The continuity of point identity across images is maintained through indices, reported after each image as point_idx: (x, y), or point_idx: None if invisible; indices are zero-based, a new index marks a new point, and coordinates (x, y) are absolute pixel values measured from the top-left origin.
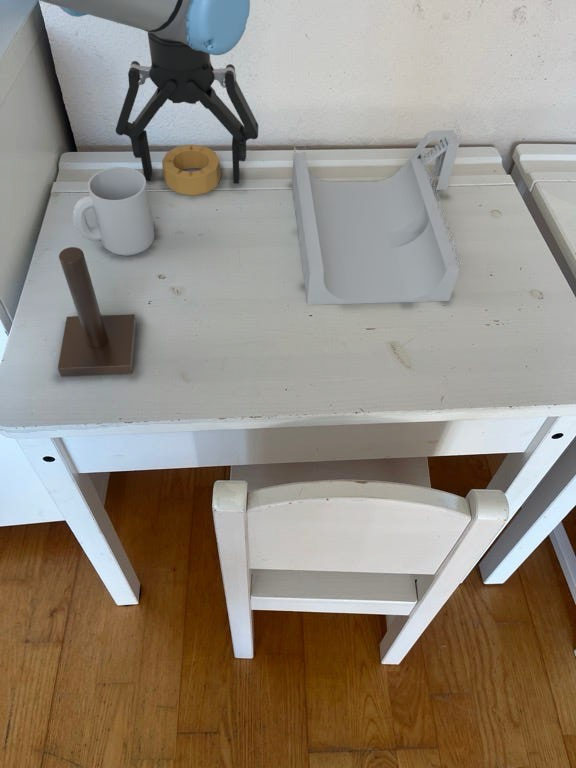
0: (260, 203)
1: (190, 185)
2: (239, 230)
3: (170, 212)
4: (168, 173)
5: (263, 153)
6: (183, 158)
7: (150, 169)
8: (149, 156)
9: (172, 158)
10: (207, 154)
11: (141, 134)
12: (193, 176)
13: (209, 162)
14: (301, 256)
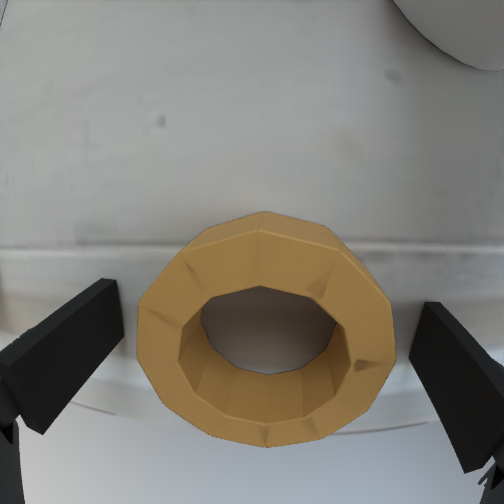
0: (41, 178)
1: (265, 219)
2: (97, 35)
3: (350, 103)
4: (375, 283)
5: (83, 398)
6: (299, 397)
7: (423, 345)
8: (432, 386)
9: (348, 381)
10: (193, 398)
11: (493, 448)
12: (241, 241)
13: (175, 350)
14: (2, 3)
